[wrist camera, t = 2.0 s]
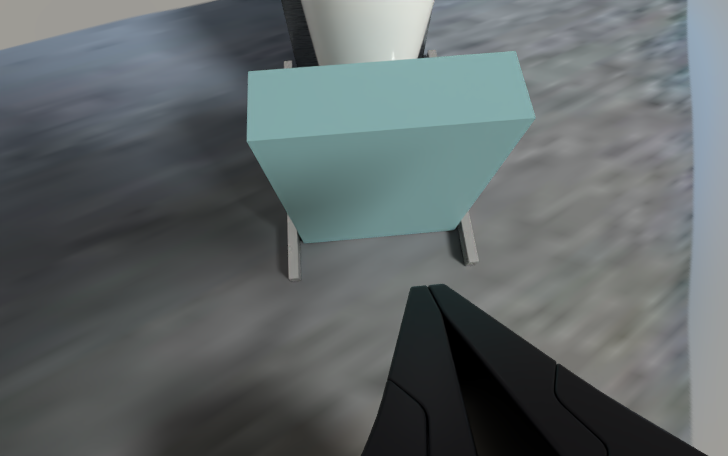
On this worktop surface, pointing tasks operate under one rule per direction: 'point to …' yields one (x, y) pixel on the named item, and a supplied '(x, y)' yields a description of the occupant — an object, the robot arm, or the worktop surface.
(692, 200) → the worktop surface
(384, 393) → the robot arm
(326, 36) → the drinking glass
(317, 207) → the block
